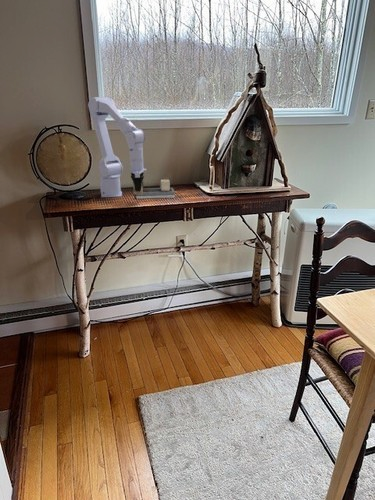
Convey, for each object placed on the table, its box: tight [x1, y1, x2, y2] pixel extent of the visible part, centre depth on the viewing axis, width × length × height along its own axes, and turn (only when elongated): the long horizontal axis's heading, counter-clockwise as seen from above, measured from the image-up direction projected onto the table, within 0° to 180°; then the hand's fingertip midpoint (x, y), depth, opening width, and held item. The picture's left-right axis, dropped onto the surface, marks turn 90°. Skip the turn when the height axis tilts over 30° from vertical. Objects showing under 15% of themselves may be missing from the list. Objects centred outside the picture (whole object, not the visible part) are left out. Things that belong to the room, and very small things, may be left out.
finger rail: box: [135, 179, 175, 200], centre depth 173 cm, size 18×9×7 cm, turn 98°
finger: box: [132, 179, 145, 195], centre depth 161 cm, size 4×4×6 cm
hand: (138, 189), depth 162 cm, fingers closed on finger, 4 cm apart
